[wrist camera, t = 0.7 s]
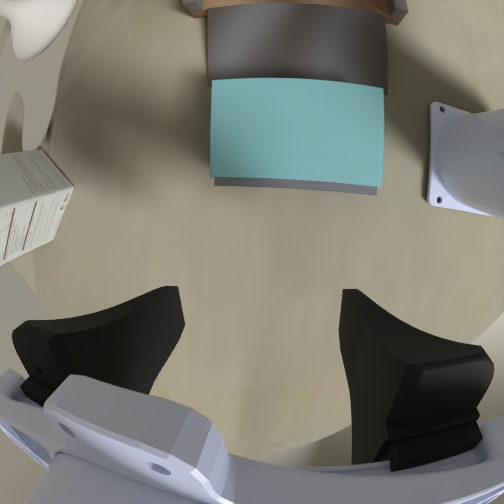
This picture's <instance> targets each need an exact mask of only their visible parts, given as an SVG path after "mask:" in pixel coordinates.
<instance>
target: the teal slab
mask: <svg viewBox="0 0 504 504" xmlns="http://www.w3.org/2000/svg"><path fill="white" fill-rule="evenodd" d="M383 155H384V92H383V88H378V87H372V86H366V85H360V84H353V83H345V82H336V81H326V80H314V79H296V78H242V79H224V80H212V97H211V133H210V177H214V186H250V187H275V188H294V189H309V190H323V191H335V192H346V193H357V194H366V195H375V196H377V187H382V174H383Z"/></svg>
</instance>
